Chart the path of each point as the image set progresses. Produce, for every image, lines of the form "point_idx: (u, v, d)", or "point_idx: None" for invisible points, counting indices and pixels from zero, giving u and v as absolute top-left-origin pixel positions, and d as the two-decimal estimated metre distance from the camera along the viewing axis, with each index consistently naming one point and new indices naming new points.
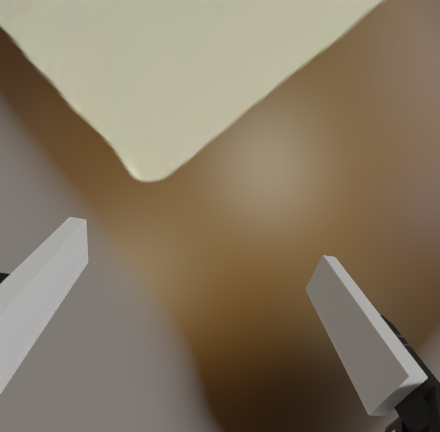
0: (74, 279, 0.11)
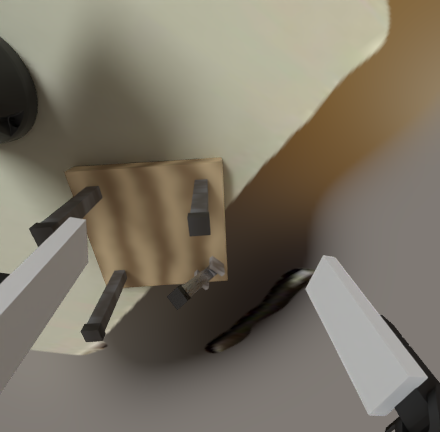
0: (74, 279, 0.11)
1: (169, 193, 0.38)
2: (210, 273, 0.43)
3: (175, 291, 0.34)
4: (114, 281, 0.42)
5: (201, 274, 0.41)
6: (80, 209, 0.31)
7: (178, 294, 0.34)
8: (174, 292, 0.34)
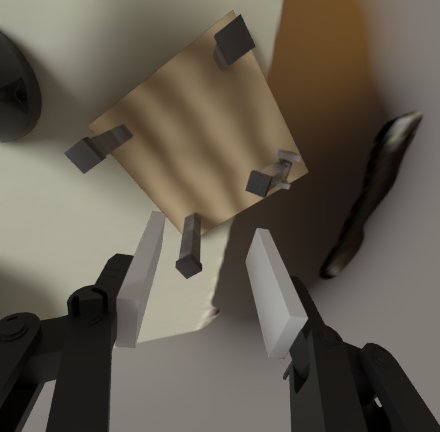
0: (157, 262, 0.14)
1: (194, 91, 0.32)
2: (284, 164, 0.35)
3: (251, 177, 0.27)
4: (188, 223, 0.38)
5: (273, 165, 0.33)
6: (112, 137, 0.28)
7: (256, 178, 0.27)
8: (250, 179, 0.27)
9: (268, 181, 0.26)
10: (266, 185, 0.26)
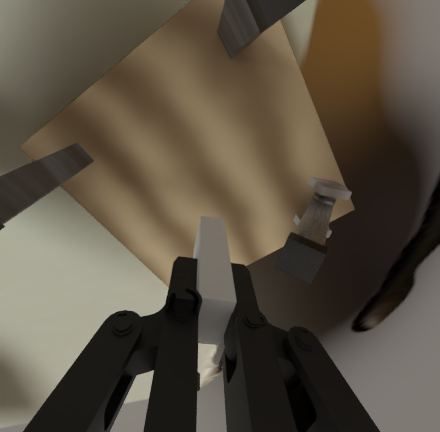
0: None
1: (186, 91, 0.20)
2: (325, 204, 0.23)
3: (288, 248, 0.15)
4: None
5: (311, 208, 0.21)
6: (39, 173, 0.16)
7: (297, 251, 0.15)
8: (286, 251, 0.15)
9: (321, 259, 0.14)
10: (317, 265, 0.14)
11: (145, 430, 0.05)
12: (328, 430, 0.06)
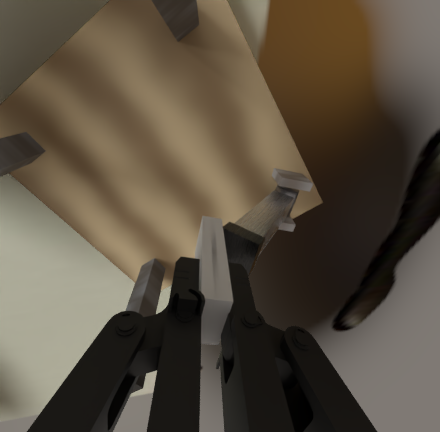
0: None
1: (135, 77, 0.19)
2: (285, 195, 0.22)
3: None
4: (142, 279, 0.25)
5: (268, 199, 0.20)
6: None
7: (233, 241, 0.14)
8: None
9: (255, 250, 0.13)
10: (252, 256, 0.14)
11: (148, 430, 0.05)
12: (325, 430, 0.06)
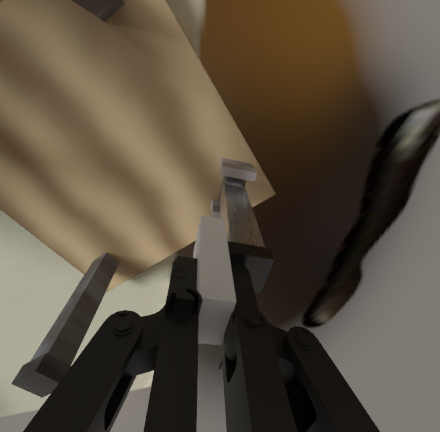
0: None
1: (63, 60, 0.18)
2: (238, 187, 0.21)
3: None
4: (89, 274, 0.25)
5: (229, 197, 0.19)
6: None
7: (243, 263, 0.12)
8: None
9: (269, 265, 0.12)
10: (265, 272, 0.13)
11: (145, 430, 0.05)
12: (328, 430, 0.06)
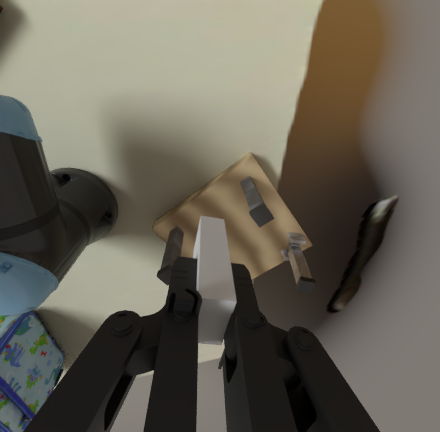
0: None
1: (227, 203, 0.45)
2: (297, 247, 0.47)
3: (301, 283, 0.39)
4: None
5: (295, 254, 0.45)
6: (176, 248, 0.41)
7: (305, 284, 0.39)
8: (301, 284, 0.39)
9: (314, 284, 0.38)
10: (312, 287, 0.39)
11: (145, 430, 0.05)
12: (328, 430, 0.06)
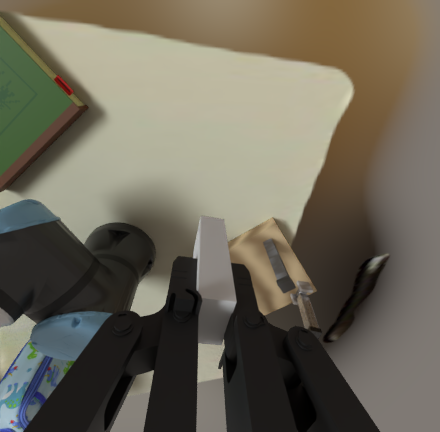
0: None
1: (250, 257, 0.54)
2: (305, 295, 0.56)
3: None
4: None
5: (304, 302, 0.54)
6: None
7: (313, 333, 0.48)
8: None
9: (320, 334, 0.48)
10: (319, 335, 0.48)
11: (145, 430, 0.05)
12: (328, 430, 0.06)
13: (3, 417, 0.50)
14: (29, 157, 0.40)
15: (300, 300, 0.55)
